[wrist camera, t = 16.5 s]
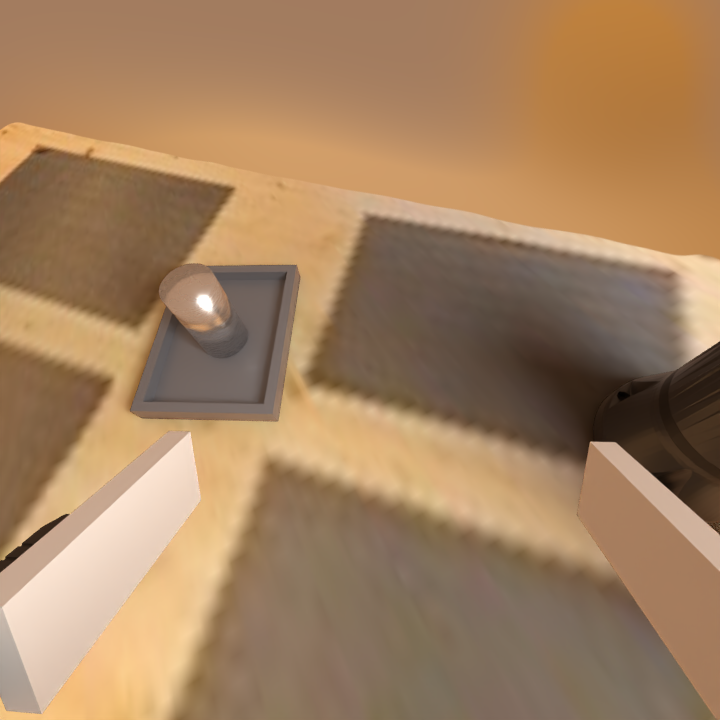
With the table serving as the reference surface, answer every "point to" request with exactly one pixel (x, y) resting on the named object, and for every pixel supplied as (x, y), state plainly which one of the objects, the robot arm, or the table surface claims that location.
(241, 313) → the slate tray
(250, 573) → the table surface
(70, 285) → the table surface
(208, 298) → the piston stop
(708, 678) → the robot arm
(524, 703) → the table surface
